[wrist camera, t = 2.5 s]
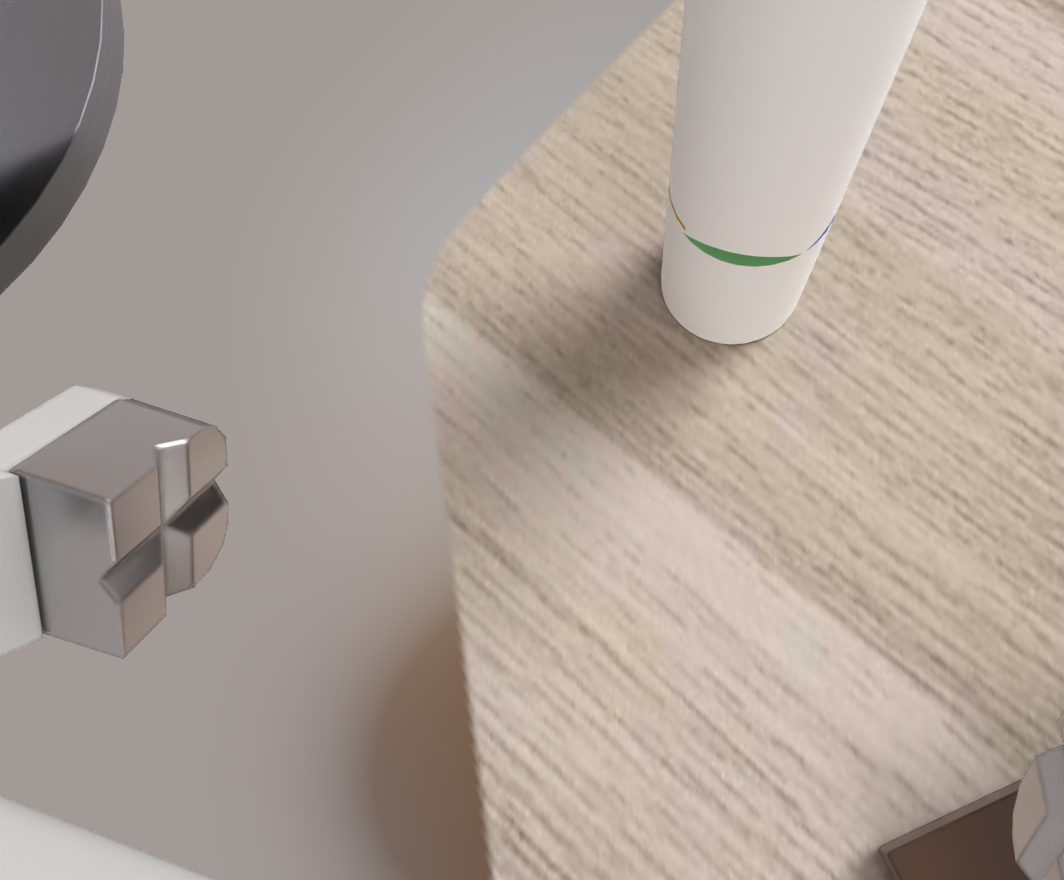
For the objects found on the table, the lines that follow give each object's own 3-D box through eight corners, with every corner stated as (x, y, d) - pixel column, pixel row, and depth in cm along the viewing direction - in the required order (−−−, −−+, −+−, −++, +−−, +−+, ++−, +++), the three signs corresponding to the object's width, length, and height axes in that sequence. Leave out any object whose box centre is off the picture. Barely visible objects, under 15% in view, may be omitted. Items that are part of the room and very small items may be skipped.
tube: (634, 261, 30) (643, -147, 16) (749, 193, 30) (861, -269, 16) (711, 369, 29) (797, 37, 15) (830, 297, 29) (1030, -100, 15)
